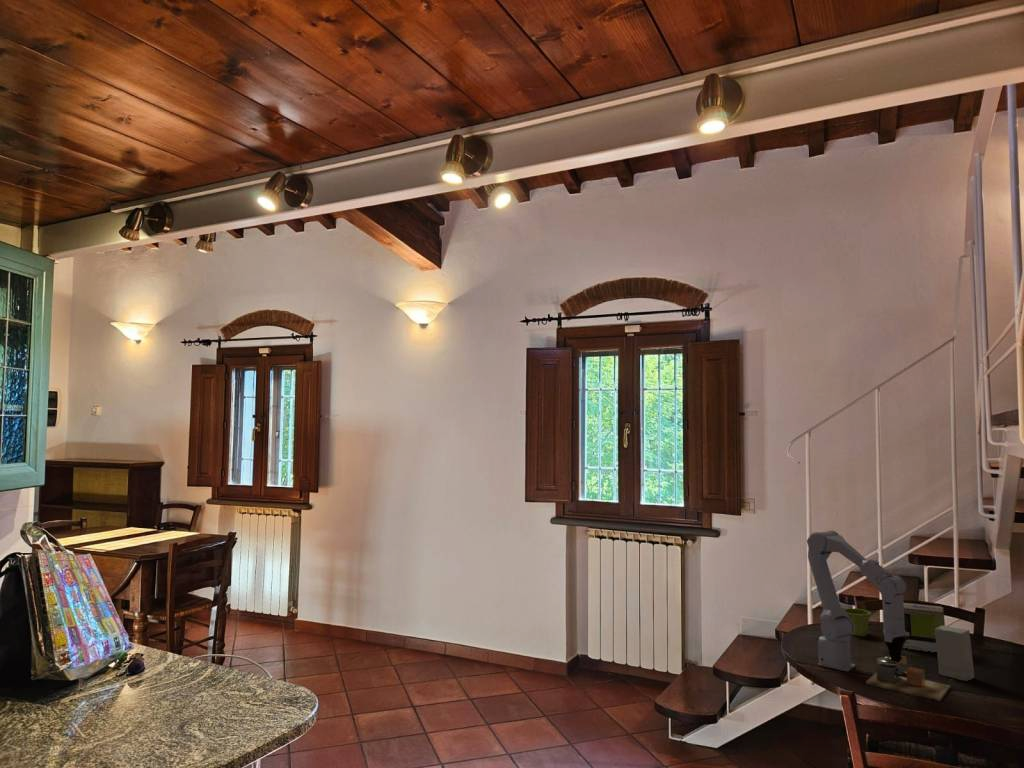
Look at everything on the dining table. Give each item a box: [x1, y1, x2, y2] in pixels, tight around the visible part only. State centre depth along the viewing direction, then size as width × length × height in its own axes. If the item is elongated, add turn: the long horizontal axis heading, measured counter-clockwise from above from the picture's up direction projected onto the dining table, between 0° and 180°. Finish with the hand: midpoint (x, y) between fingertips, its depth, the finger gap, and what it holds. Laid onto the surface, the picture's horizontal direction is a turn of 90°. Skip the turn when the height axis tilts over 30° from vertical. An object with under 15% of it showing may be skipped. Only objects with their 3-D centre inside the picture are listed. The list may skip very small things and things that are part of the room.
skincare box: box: [935, 625, 975, 682], centre depth 212 cm, size 8×6×15 cm
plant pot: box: [843, 608, 872, 637], centre depth 258 cm, size 9×9×9 cm
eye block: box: [875, 662, 902, 684], centre depth 207 cm, size 5×7×5 cm
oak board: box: [866, 672, 951, 702], centre depth 203 cm, size 20×14×1 cm
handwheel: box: [876, 655, 907, 666], centre depth 207 cm, size 8×6×3 cm
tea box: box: [900, 602, 946, 653], centre depth 241 cm, size 15×10×15 cm
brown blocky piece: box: [896, 666, 926, 687], centre depth 205 cm, size 12×4×4 cm, turn 46°
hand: (895, 661), depth 205 cm, fingers closed
